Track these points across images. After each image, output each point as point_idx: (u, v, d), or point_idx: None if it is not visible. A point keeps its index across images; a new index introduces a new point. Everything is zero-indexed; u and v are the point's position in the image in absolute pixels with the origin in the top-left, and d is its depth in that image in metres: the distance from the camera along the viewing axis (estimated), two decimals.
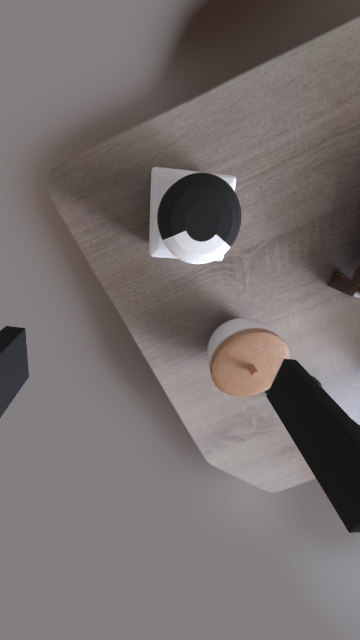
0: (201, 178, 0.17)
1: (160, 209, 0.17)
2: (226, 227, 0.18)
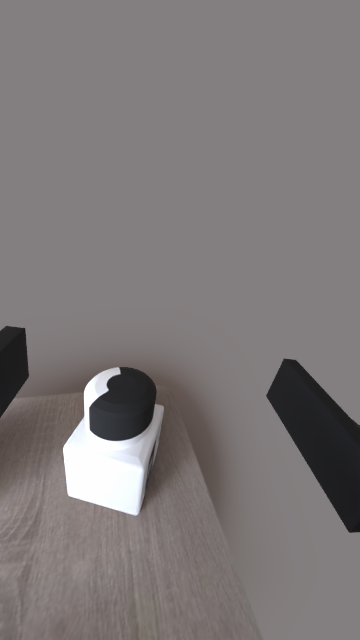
0: (152, 391, 0.22)
1: (138, 370, 0.25)
2: (111, 398, 0.20)
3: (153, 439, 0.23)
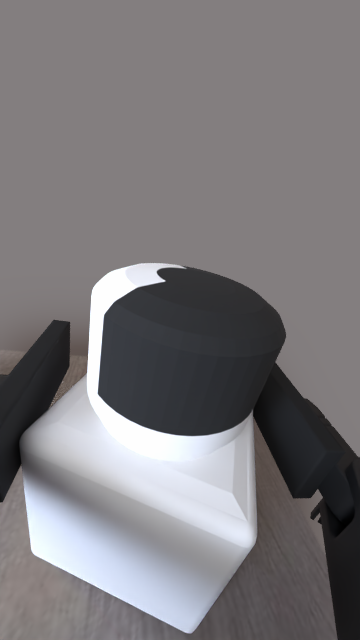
0: (275, 310, 0.08)
1: None
2: (175, 294, 0.06)
3: (252, 444, 0.09)
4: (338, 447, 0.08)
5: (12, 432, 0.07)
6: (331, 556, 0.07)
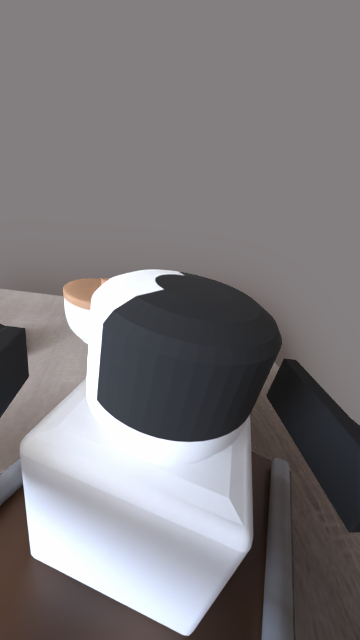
0: (272, 317, 0.08)
1: None
2: (173, 303, 0.06)
3: (249, 448, 0.09)
4: None
5: None
6: None
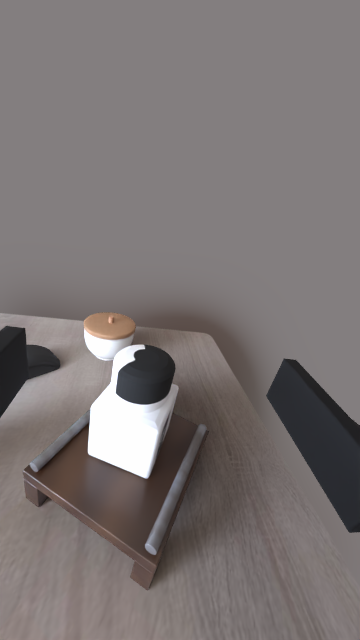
0: (172, 366, 0.25)
1: None
2: (137, 365, 0.23)
3: (168, 410, 0.26)
4: None
5: None
6: None
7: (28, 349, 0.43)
